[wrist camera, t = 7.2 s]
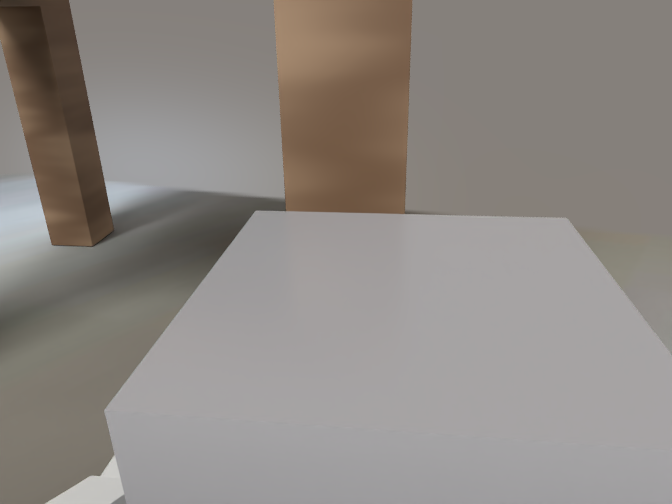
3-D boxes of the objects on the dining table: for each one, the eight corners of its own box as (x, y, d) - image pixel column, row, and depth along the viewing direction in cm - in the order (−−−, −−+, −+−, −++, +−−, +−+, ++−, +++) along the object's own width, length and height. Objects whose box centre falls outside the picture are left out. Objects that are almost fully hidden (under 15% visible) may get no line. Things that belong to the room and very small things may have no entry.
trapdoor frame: (-253, 445, 17) (-564, -77, 11) (75, 229, 34) (18, -25, 28) (394, 501, 14) (416, -124, 9) (401, 238, 31) (410, -36, 26)
